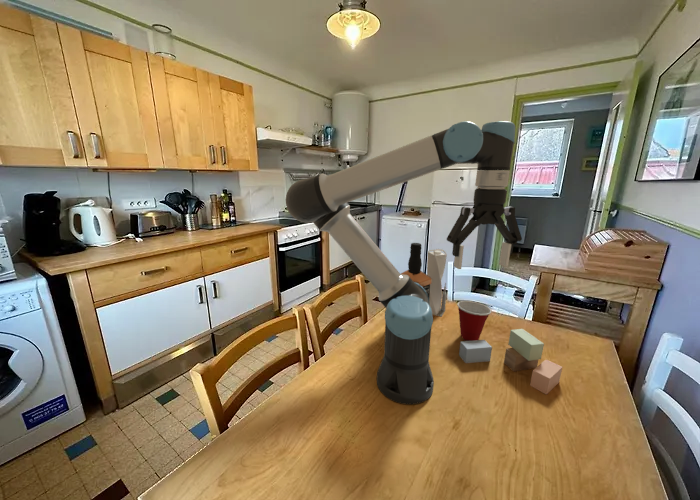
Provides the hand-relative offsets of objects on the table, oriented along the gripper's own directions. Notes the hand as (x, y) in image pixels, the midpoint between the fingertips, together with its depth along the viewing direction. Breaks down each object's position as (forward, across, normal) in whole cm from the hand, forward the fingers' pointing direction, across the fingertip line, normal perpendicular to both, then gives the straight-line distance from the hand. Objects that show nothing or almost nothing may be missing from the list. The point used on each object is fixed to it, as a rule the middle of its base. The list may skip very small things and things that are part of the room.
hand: (480, 266), depth 78 cm
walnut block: (+31, +15, -3) cm, 34 cm away
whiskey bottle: (+31, -10, +23) cm, 40 cm away
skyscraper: (+31, +3, +33) cm, 45 cm away
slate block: (+31, +3, +2) cm, 31 cm away
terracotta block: (+31, +16, -11) cm, 36 cm away
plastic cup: (+31, +8, +13) cm, 34 cm away
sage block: (+26, +15, -3) cm, 30 cm away
